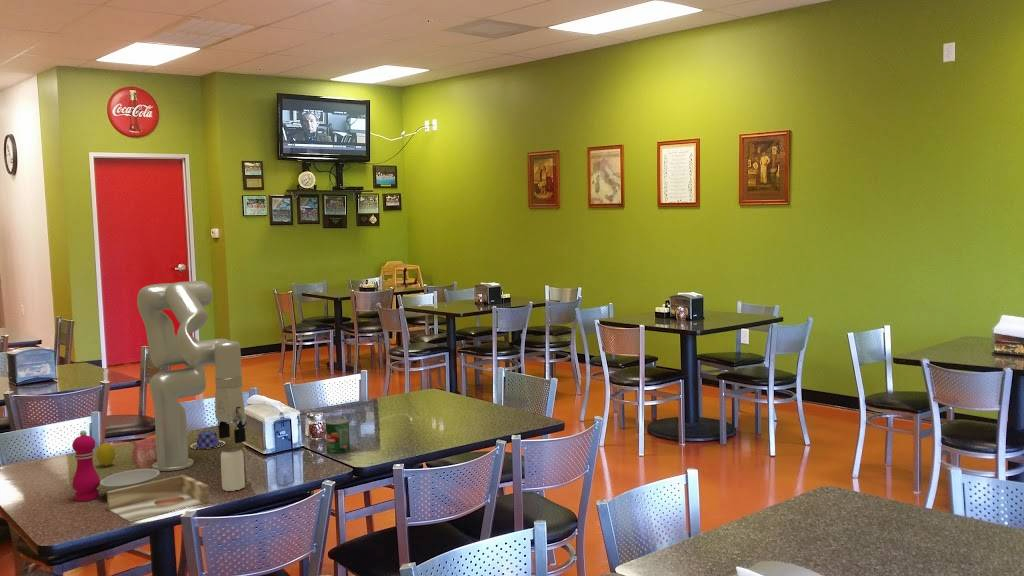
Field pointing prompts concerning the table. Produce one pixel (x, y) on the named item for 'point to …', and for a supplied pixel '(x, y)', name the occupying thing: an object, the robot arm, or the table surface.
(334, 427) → the canned tomato
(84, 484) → the pepper mill
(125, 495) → the gold shallow open box
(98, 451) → the lemon
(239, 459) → the can
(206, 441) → the blue patterned low dome
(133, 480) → the dish
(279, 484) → the table surface
